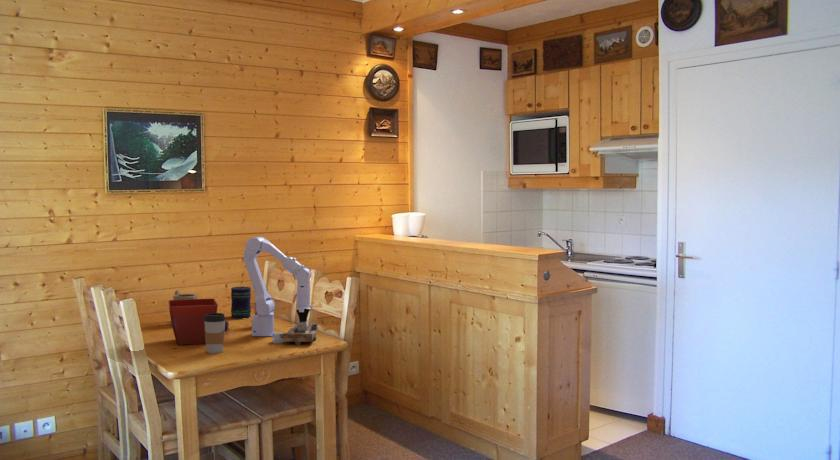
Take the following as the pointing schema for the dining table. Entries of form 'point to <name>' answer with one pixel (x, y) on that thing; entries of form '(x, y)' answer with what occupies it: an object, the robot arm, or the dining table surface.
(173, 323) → the plant pot
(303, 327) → the rider
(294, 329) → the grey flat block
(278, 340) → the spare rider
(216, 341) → the coffee cup
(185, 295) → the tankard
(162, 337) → the dining table surface
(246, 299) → the storage jar
